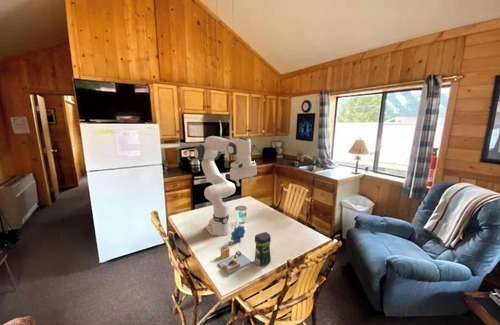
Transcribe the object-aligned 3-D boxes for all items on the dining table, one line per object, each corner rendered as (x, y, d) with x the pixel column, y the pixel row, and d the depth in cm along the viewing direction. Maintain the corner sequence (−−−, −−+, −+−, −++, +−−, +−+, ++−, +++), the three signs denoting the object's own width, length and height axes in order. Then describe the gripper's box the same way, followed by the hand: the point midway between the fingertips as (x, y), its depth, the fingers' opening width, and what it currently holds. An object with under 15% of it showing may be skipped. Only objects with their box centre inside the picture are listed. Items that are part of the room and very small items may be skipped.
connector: (220, 255, 137) (220, 246, 135) (226, 253, 139) (225, 244, 138) (224, 259, 134) (223, 249, 132) (229, 256, 136) (229, 246, 135)
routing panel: (217, 264, 128) (217, 263, 128) (240, 253, 139) (240, 252, 139) (228, 275, 119) (228, 273, 119) (251, 262, 130) (251, 261, 130)
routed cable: (224, 260, 131) (224, 257, 130) (238, 253, 138) (238, 250, 137) (230, 265, 126) (229, 262, 125) (244, 258, 133) (244, 255, 132)
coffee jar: (264, 255, 137) (265, 229, 133) (272, 262, 130) (273, 234, 127) (252, 260, 132) (252, 233, 128) (259, 268, 125) (260, 239, 122)
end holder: (223, 266, 125) (222, 263, 124) (233, 261, 130) (233, 257, 129) (229, 273, 120) (229, 269, 119) (240, 267, 124) (240, 263, 124)
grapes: (242, 236, 160) (242, 221, 158) (246, 240, 154) (246, 225, 152) (228, 240, 154) (228, 225, 152) (232, 245, 148) (232, 229, 146)
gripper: (252, 160, 141) (252, 180, 144) (228, 164, 128) (228, 186, 130) (259, 161, 137) (259, 182, 139) (234, 166, 123) (235, 188, 126)
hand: (244, 184), depth 135 cm, fingers open, 8 cm apart
